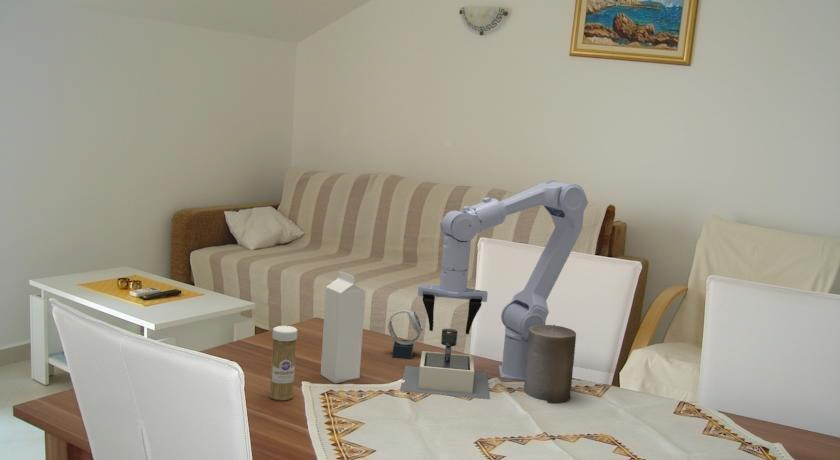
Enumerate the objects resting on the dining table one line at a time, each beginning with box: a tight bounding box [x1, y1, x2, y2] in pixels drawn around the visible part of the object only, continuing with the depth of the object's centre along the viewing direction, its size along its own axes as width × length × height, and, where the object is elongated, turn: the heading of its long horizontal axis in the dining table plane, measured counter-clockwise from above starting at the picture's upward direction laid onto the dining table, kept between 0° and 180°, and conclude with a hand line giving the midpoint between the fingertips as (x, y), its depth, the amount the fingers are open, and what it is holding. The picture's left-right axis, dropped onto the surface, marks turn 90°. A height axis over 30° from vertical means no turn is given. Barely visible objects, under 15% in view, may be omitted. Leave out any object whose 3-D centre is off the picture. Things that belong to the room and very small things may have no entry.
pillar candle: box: [523, 324, 577, 403], centre depth 152 cm, size 10×10×15 cm
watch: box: [387, 308, 424, 360], centre depth 170 cm, size 6×8×11 cm
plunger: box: [426, 328, 468, 370], centre depth 153 cm, size 9×9×7 cm
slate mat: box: [399, 365, 491, 400], centre depth 154 cm, size 18×16×1 cm
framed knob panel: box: [418, 350, 475, 393], centre depth 154 cm, size 11×11×4 cm
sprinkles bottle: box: [269, 325, 298, 401], centre depth 139 cm, size 5×5×14 cm
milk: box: [320, 270, 366, 384], centre depth 152 cm, size 6×6×22 cm
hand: (449, 331), depth 156 cm, fingers open, 7 cm apart
